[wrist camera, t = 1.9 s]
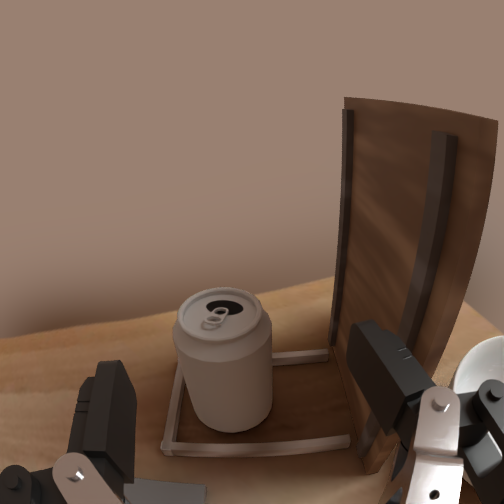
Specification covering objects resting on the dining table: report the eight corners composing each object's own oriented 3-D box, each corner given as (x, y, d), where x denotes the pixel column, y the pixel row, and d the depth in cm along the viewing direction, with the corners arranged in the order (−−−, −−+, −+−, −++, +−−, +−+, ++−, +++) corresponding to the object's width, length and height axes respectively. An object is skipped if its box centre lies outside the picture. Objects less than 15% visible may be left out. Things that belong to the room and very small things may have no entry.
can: (280, 383, 31) (280, 285, 25) (261, 444, 25) (256, 352, 19) (210, 371, 33) (192, 275, 27) (183, 426, 26) (149, 332, 21)
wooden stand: (159, 483, 21) (6, 143, 9) (184, 343, 37) (144, 108, 25) (377, 472, 21) (498, 120, 9) (337, 336, 36) (355, 97, 24)
